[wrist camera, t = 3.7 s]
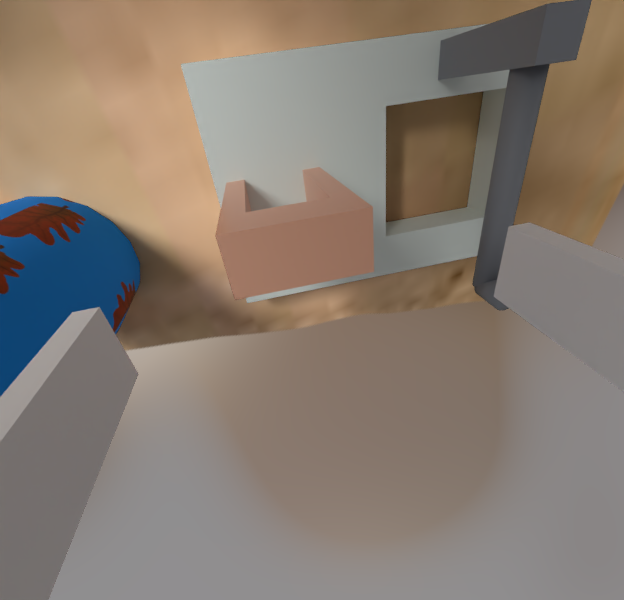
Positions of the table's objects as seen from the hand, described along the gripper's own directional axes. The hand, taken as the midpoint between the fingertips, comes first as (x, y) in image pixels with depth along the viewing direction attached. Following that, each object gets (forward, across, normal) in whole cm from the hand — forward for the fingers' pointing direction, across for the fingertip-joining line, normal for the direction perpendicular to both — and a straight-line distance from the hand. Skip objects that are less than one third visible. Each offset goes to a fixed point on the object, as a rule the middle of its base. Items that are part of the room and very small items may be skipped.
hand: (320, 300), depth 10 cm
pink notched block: (+14, 0, 0) cm, 14 cm away
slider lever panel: (+17, +7, 0) cm, 18 cm away
